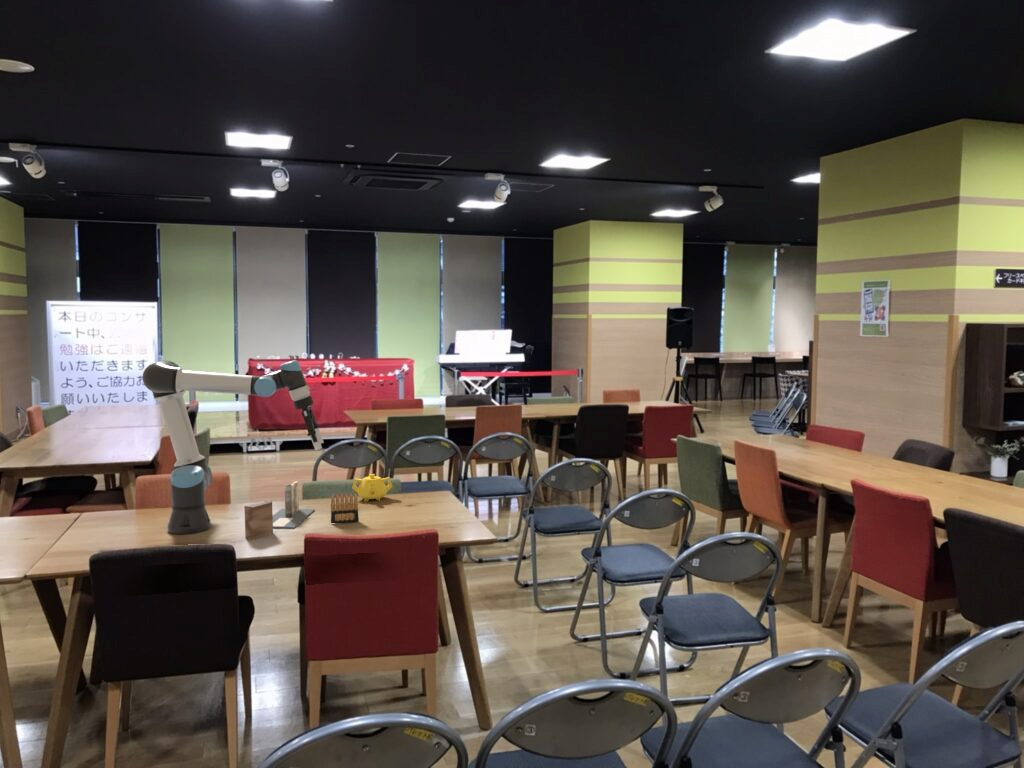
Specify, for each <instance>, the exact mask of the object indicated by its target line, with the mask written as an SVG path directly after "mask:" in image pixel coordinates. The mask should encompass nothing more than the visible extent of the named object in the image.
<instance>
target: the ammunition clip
mask: <svg viewBox="0 0 1024 768" xmlns="http://www.w3.org/2000/svg"><path fill="white" fill-rule="evenodd" d="M335 496H336V498H335ZM353 497H354V498H353ZM330 499H331V500H330V501H331V502H330V524H331V523H343V524H353V523H355V524H356V523H359V521H360V519H359V503H358V493H357V492H356V491H355V492H354V495H353V493H352V492H350V494H349V496H348V492H346V493H345V497H344V493H343V492H342V493H341V495H339V493H336V495H334V493H332V494H331V498H330Z"/></svg>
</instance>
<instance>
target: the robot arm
mask: <svg viewBox="0 0 1024 768" xmlns="http://www.w3.org/2000/svg"><path fill="white" fill-rule="evenodd" d="M142 382H143V385H144V386H145V388H147V389H148V390H149V391H150V392H151V393H152V395H153V396H152V397H153V399H154V400H155V401H158V402H159V404H160V408H161V410H162V411H161V412H162V414H163V419H164V421H165V424H166V427H167V431H168V435H169V438H170V440H171V446H172V448H173V451H174V454H175V458H176V461H175V463H174V464H173V467H174V468H173V470H172V471H171V473H170V487H171V490H170V491H171V493H170V494H171V513H170V517H169V521H168V523H167V532H168V533H170V534H173V535H188V534H195V533H196V534H198V533H201V531H202V532H205V531H207V530H209V529H210V528H212V527H211V526H212V524H211V519H210V516H209V514H208V512H207V509H206V494H205V491H206V490H207V489H208V488H209V487H210V485H211V483H212V480H213V472H212V469H211V468H210V466H209V465H208V464H207V461H206V457H205V456H204V455H202V454H200V451H199V447H198V444H197V440H196V437H195V434H194V431H193V426H192V424H191V420H190V417H189V413H188V410H187V409H188V408H187V406H186V402H185V400H184V394H185V393H186V391H187V392H200V393H202V392H203V393H213V394H214V393H216V394H217V393H218V394H230V395H245V396H258V397H262V398H270V397H271V396H272V395H274V394H275V392H277V391H280V390H283V389H286V388H287V389H288V393H289V395H290V397H291V400H293V401H292V403H293V406H294V408H295V410H296V411H298V410H302V411H301V416H302V417H303V421H304V424H305V427H306V430H307V436H308V437H310V440H311V442H312V446H313V448H314V450H315V451H318V450H322V449H323V447H322V444H324V443H325V442H324V438H323V436H322V433H321V431H320V429H319V428H320V427H321V425H320V424H318V422H317V420H316V418H315V414H314V411H313V409H312V408H311V406H313V405H314V403H315V402H314V400H313V397H312V395H311V392H310V389H311V388H310V386H308V383H307V381H306V378H305V375H304V373H303V370H302V368H301V365H300V363H299V361H298V360H296V359H293V360H291V361H287V362H284V363H282V364H280V365H279V369H278V370H277V371H274V372H270V373H267V374H265V375H247V374H236V373H235V374H234V373H222V372H221V373H220V372H207V371H193V370H184V369H182V368H181V367H180V365H179V364H177V363H175V362H173V361H171V360H165V359H164V360H160V361H156V362H153V363H151V364H149V365H148V366H147V367H145V368H144V370H143V372H142ZM204 530H205V531H204Z"/></svg>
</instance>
